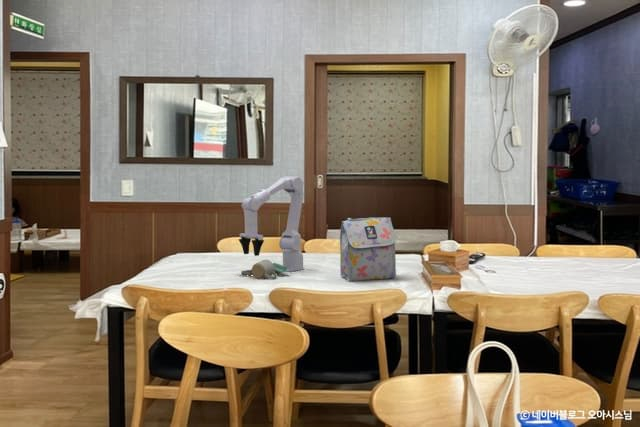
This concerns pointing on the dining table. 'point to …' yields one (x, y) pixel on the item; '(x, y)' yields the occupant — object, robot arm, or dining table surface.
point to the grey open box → (249, 272)
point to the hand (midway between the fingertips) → (251, 254)
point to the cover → (280, 268)
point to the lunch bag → (367, 249)
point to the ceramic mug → (264, 270)
